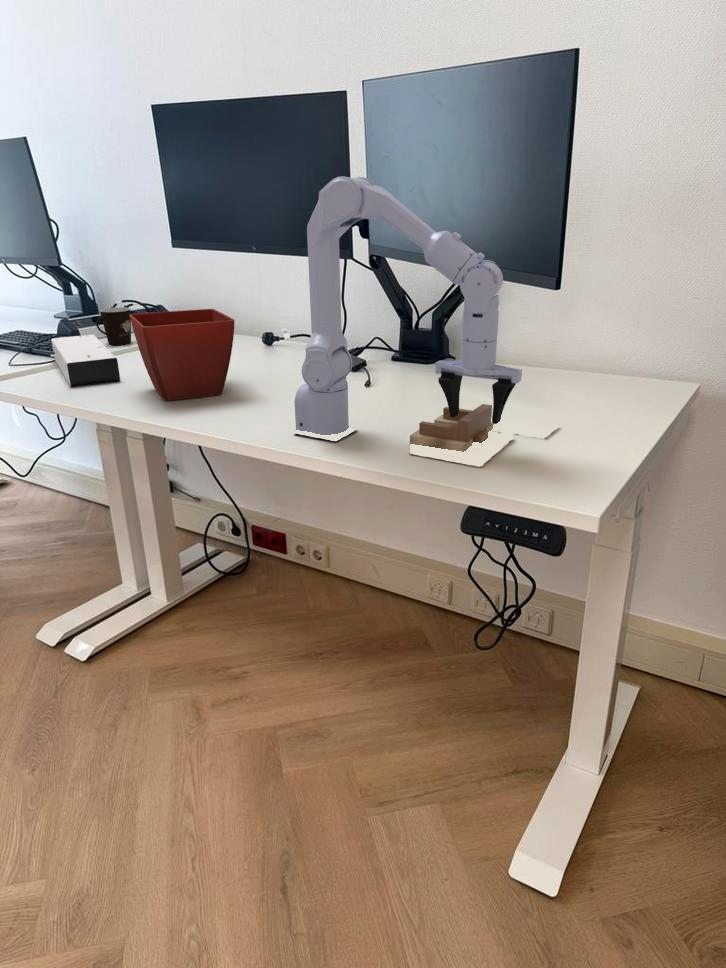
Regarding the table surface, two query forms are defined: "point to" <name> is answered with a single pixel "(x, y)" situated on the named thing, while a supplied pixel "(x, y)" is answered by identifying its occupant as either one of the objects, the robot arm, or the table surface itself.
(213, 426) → the table surface
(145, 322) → the plant pot
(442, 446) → the wooden u-shaped block
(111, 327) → the coffee mug
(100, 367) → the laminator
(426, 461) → the table surface
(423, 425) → the wooden c-shaped piece
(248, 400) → the table surface
